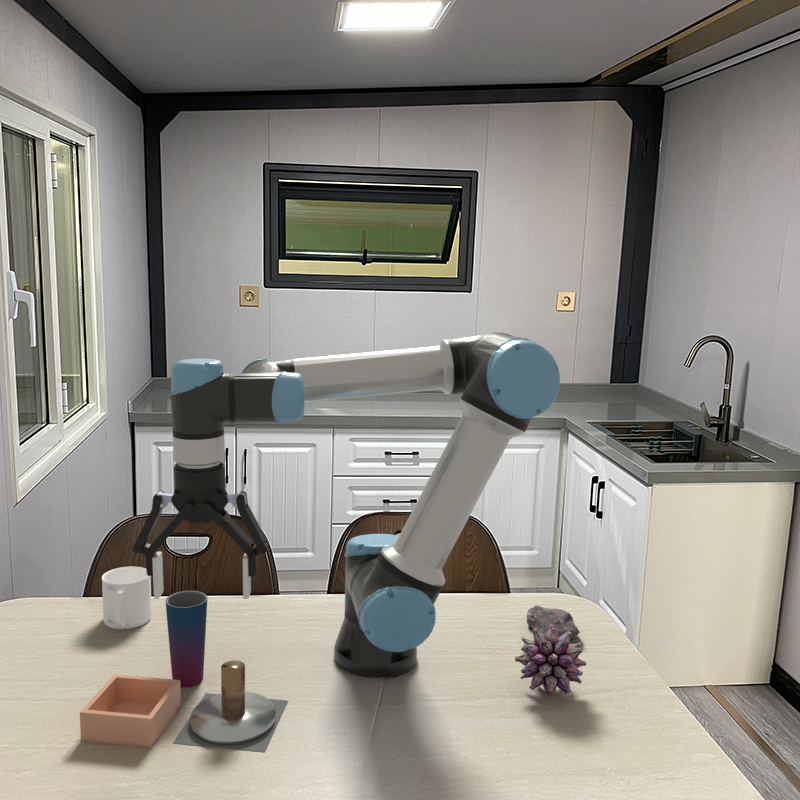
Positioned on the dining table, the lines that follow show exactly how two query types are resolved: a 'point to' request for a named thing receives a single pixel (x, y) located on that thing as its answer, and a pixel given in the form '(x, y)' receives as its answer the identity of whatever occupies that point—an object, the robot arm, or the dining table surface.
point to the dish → (130, 711)
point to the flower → (551, 661)
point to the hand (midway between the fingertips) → (203, 595)
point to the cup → (187, 635)
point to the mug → (126, 597)
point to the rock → (551, 621)
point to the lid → (232, 711)
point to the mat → (257, 745)
